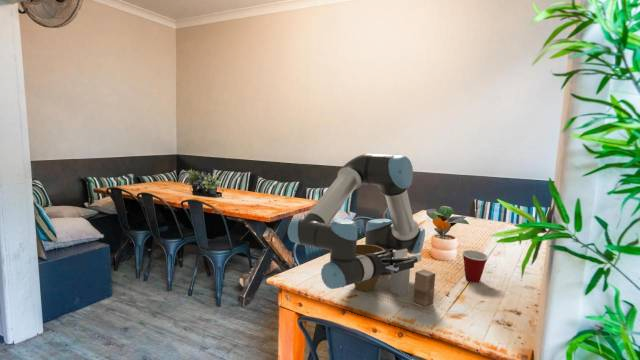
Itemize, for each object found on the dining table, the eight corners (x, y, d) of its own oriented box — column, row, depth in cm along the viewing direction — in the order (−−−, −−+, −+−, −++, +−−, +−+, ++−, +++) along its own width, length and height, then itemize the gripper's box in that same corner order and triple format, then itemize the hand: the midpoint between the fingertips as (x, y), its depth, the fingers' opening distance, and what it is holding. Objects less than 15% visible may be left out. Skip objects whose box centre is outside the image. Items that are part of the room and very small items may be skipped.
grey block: (400, 295, 141) (402, 265, 140) (390, 291, 145) (392, 262, 144) (408, 292, 144) (410, 263, 143) (398, 288, 148) (400, 259, 147)
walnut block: (424, 308, 131) (427, 276, 130) (413, 303, 135) (415, 271, 133) (432, 305, 134) (435, 273, 133) (421, 300, 138) (423, 269, 137)
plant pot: (358, 278, 157) (360, 242, 156) (389, 287, 148) (391, 249, 146) (338, 288, 146) (339, 249, 144) (370, 299, 137) (372, 258, 135)
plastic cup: (470, 286, 153) (472, 258, 152) (454, 276, 163) (456, 250, 162) (492, 284, 156) (494, 257, 155) (475, 275, 166) (477, 249, 165)
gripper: (345, 269, 121) (392, 257, 135) (387, 288, 107) (435, 273, 121) (346, 247, 120) (393, 238, 134) (389, 264, 106) (436, 251, 120)
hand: (413, 254), depth 127 cm, fingers open, 5 cm apart
